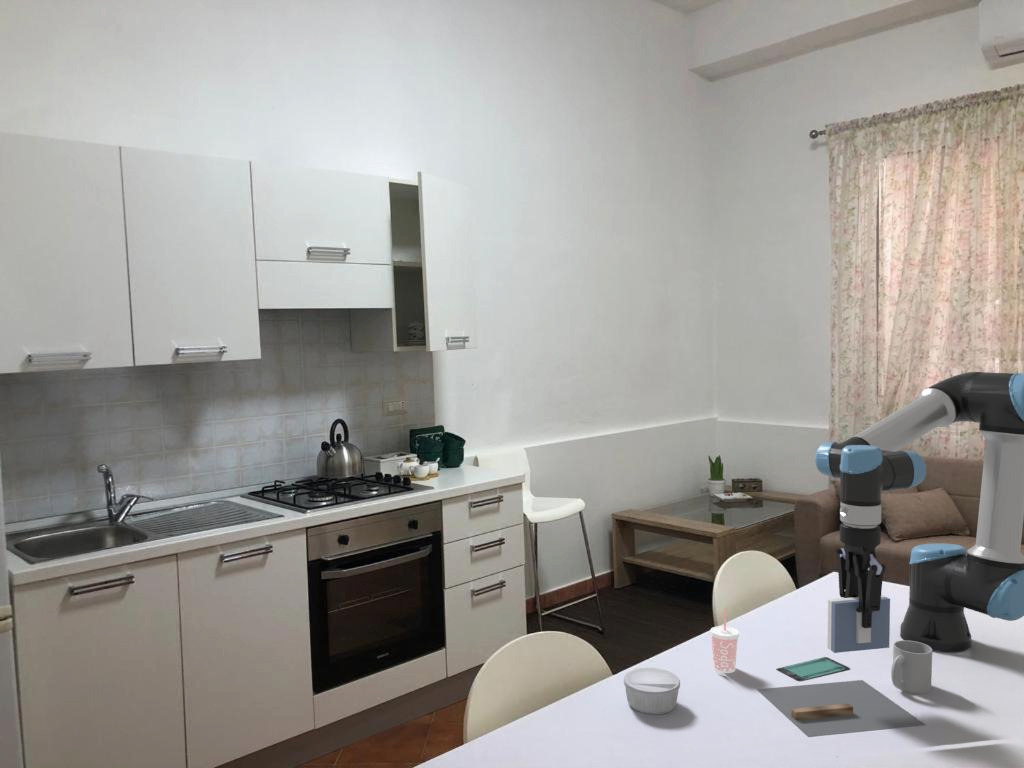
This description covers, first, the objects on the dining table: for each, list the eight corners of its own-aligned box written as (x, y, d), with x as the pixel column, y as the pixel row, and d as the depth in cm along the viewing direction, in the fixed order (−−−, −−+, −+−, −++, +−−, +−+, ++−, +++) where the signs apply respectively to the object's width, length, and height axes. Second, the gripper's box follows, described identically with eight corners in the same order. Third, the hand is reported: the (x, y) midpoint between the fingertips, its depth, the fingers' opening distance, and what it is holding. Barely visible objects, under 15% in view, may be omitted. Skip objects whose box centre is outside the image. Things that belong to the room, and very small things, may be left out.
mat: (862, 682, 173) (862, 679, 173) (926, 727, 154) (926, 724, 154) (756, 692, 169) (756, 689, 169) (808, 739, 149) (808, 736, 149)
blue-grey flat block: (881, 642, 167) (882, 594, 166) (889, 647, 165) (890, 598, 164) (827, 648, 165) (828, 599, 164) (834, 652, 162) (835, 603, 162)
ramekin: (645, 722, 156) (645, 695, 156) (612, 699, 166) (612, 674, 166) (691, 709, 162) (692, 683, 161) (656, 688, 172) (657, 663, 171)
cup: (938, 691, 169) (939, 649, 168) (909, 703, 164) (910, 659, 163) (905, 678, 175) (907, 637, 175) (876, 689, 170) (877, 647, 169)
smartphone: (774, 668, 179) (826, 655, 185) (774, 673, 179) (826, 661, 185) (799, 681, 172) (852, 667, 179) (799, 686, 172) (851, 673, 179)
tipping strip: (848, 711, 159) (848, 703, 159) (853, 714, 158) (853, 707, 158) (791, 716, 157) (791, 708, 157) (795, 720, 156) (795, 712, 156)
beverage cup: (706, 673, 178) (707, 610, 177) (713, 663, 184) (714, 602, 183) (735, 679, 175) (736, 615, 174) (741, 668, 181) (742, 606, 180)
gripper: (821, 515, 170) (820, 626, 172) (866, 534, 155) (864, 656, 156) (854, 513, 171) (852, 623, 173) (902, 532, 156) (900, 652, 158)
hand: (858, 638), depth 165 cm, fingers closed on blue-grey flat block, 2 cm apart
